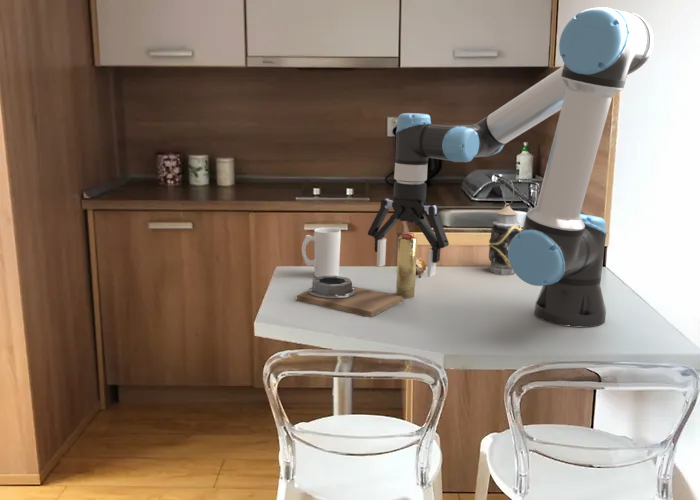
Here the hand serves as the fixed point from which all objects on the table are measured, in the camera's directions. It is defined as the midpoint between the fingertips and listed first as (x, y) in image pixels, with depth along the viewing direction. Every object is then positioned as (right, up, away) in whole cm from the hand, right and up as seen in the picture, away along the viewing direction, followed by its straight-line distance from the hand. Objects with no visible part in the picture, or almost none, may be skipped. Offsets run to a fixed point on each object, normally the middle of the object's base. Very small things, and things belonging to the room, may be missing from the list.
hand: (405, 270), depth 182 cm
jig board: (-13, -7, -4) cm, 16 cm away
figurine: (+4, -2, +20) cm, 21 cm away
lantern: (+28, -1, +26) cm, 38 cm away
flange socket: (-17, -5, -2) cm, 18 cm away
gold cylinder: (0, -6, +1) cm, 6 cm away
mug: (-21, -2, +16) cm, 27 cm away
